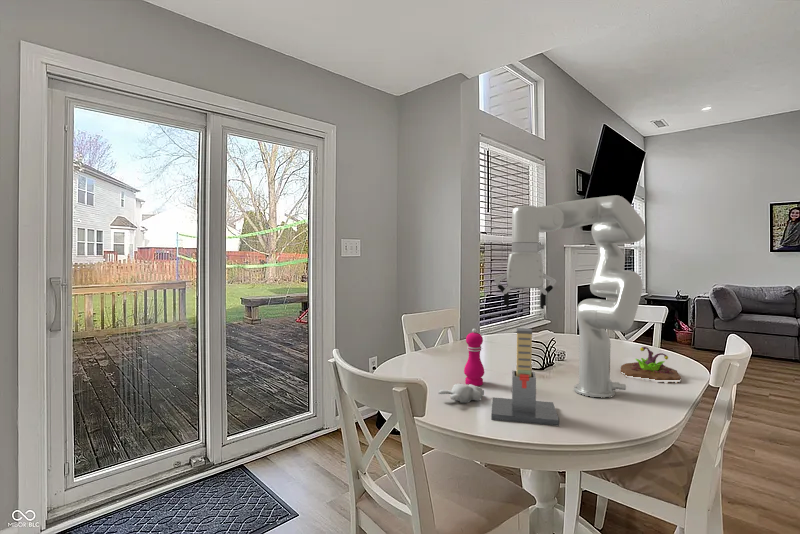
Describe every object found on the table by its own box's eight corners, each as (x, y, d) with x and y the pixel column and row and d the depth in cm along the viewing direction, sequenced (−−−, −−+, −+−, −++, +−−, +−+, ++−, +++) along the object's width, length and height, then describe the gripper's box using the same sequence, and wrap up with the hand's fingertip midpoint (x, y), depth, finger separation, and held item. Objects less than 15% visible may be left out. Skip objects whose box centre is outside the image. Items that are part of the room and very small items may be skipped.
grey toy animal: (491, 387, 135) (456, 391, 126) (489, 403, 135) (454, 408, 126) (470, 380, 143) (436, 382, 134) (469, 395, 143) (434, 399, 134)
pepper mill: (484, 387, 148) (484, 330, 147) (463, 385, 149) (463, 329, 148) (484, 381, 155) (484, 326, 154) (464, 379, 156) (464, 326, 155)
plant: (619, 366, 176) (619, 339, 175) (674, 372, 167) (675, 344, 167) (621, 379, 158) (621, 350, 157) (683, 386, 149) (684, 355, 149)
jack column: (530, 384, 125) (531, 328, 124) (531, 389, 121) (532, 331, 120) (515, 383, 126) (516, 328, 125) (516, 388, 122) (517, 330, 121)
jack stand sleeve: (553, 407, 128) (553, 367, 128) (558, 425, 115) (559, 380, 114) (492, 402, 133) (492, 363, 132) (491, 419, 119) (491, 376, 119)
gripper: (555, 248, 124) (554, 306, 124) (494, 249, 128) (494, 305, 128) (558, 248, 116) (557, 310, 117) (494, 249, 120) (493, 308, 121)
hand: (524, 307), depth 123 cm, fingers open, 9 cm apart
